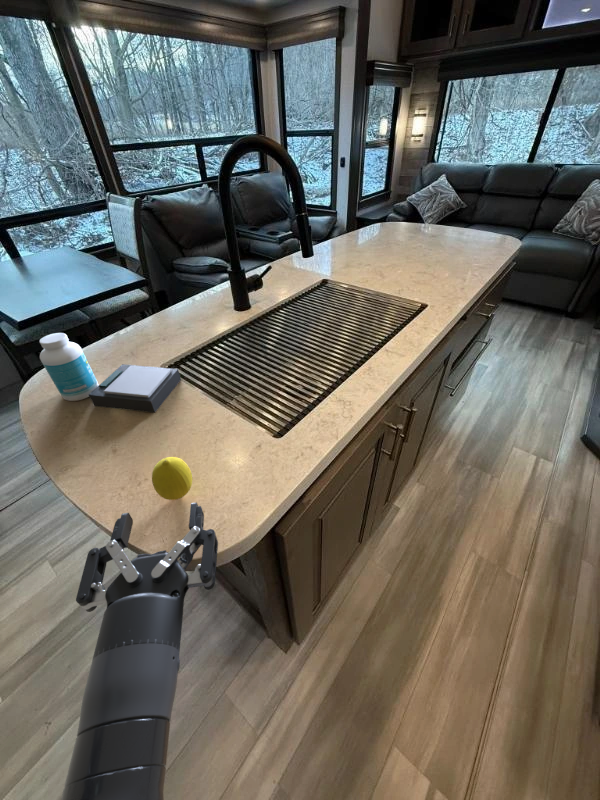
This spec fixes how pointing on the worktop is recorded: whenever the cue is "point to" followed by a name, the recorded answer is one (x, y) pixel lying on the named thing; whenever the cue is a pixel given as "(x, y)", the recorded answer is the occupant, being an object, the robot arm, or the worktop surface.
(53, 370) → the pill bottle
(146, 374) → the scale
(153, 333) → the worktop surface
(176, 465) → the lemon
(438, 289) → the worktop surface
